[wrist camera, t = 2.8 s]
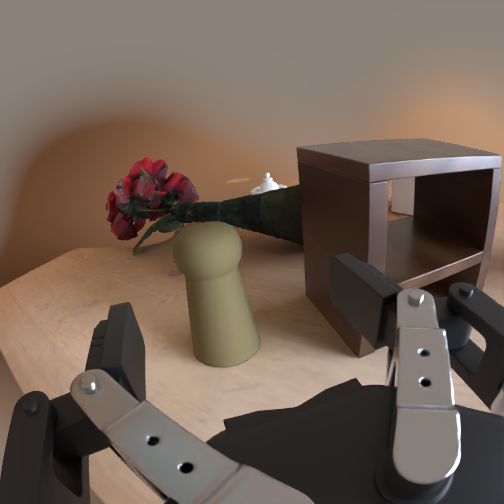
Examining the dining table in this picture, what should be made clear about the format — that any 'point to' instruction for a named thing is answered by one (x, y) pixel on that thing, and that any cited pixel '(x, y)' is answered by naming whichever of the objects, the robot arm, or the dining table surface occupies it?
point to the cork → (216, 294)
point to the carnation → (196, 206)
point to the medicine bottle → (403, 195)
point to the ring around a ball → (266, 186)
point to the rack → (401, 230)
